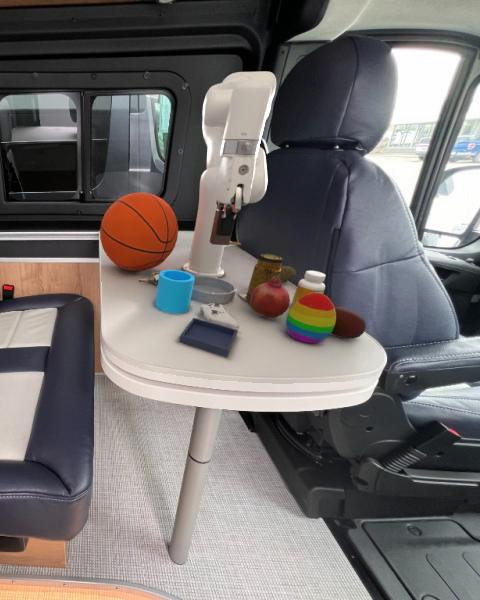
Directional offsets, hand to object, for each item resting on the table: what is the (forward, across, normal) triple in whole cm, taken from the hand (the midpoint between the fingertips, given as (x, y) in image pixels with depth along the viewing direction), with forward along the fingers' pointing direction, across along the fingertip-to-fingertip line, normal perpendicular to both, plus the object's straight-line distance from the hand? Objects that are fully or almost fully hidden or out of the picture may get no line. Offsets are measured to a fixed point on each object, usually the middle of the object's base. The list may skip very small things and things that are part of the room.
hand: (221, 233), depth 78 cm
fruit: (+18, -8, -11) cm, 23 cm away
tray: (+18, -21, +6) cm, 28 cm away
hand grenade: (+13, +16, -30) cm, 36 cm away
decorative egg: (+18, -18, -15) cm, 29 cm away
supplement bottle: (+18, -4, -22) cm, 29 cm away
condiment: (+18, 0, -14) cm, 22 cm away
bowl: (+17, +3, -1) cm, 18 cm away
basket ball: (+17, +24, +20) cm, 35 cm away
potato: (+12, -15, -24) cm, 30 cm away
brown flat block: (+3, 0, -2) cm, 3 cm away
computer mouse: (+17, +9, +10) cm, 22 cm away
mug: (+18, -4, +10) cm, 21 cm away
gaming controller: (+18, -13, +2) cm, 22 cm away
